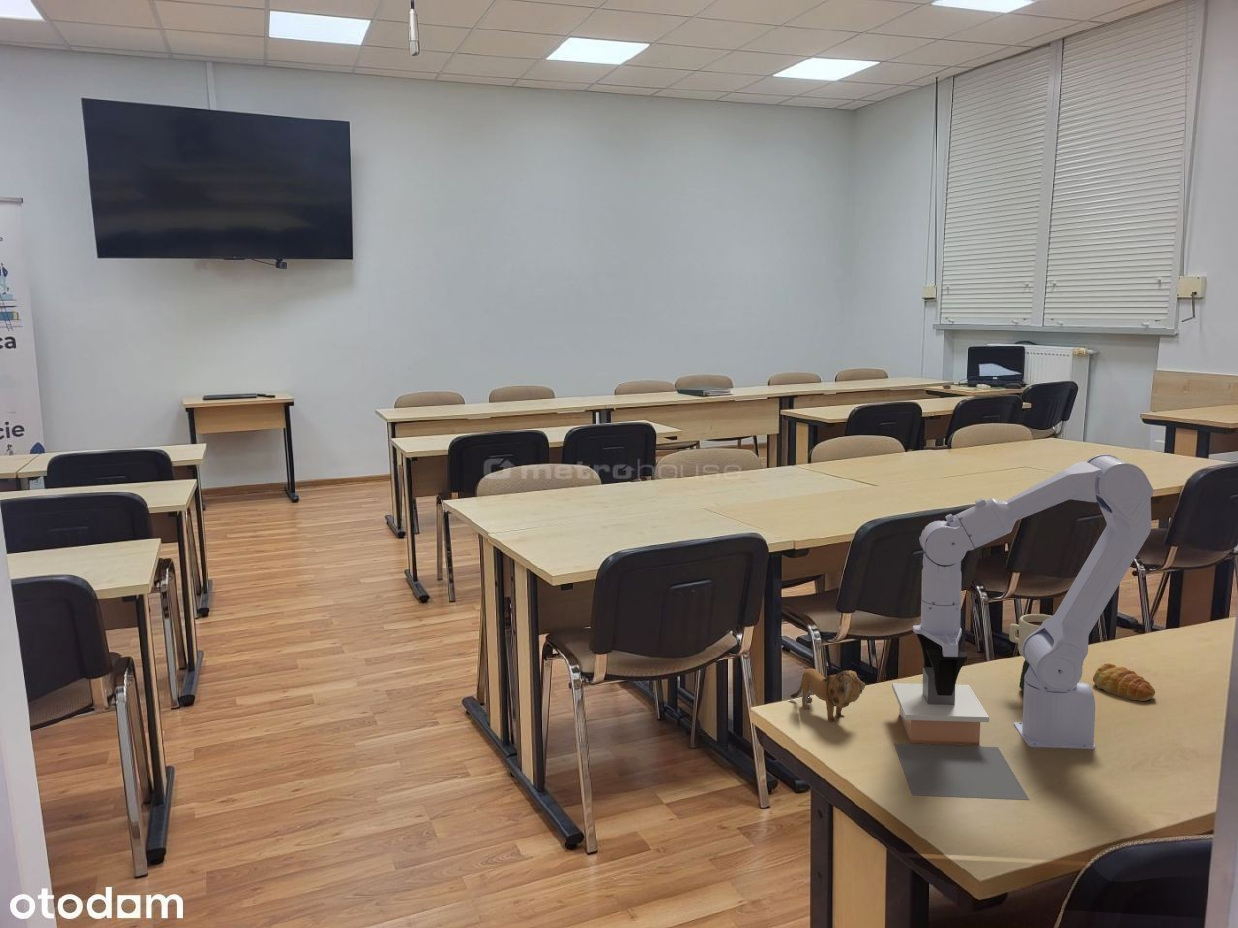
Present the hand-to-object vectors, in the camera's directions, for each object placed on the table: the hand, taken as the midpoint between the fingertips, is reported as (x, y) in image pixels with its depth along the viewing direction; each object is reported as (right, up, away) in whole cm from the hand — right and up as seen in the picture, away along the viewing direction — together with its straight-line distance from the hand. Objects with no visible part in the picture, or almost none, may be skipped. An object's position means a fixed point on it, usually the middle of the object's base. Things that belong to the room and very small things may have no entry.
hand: (939, 684), depth 138 cm
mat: (-2, -10, -12) cm, 15 cm away
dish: (0, -8, +1) cm, 8 cm away
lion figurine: (-15, -7, +9) cm, 19 cm away
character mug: (+22, -5, +14) cm, 27 cm away
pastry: (+37, -5, +14) cm, 40 cm away
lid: (0, -3, +1) cm, 3 cm away
